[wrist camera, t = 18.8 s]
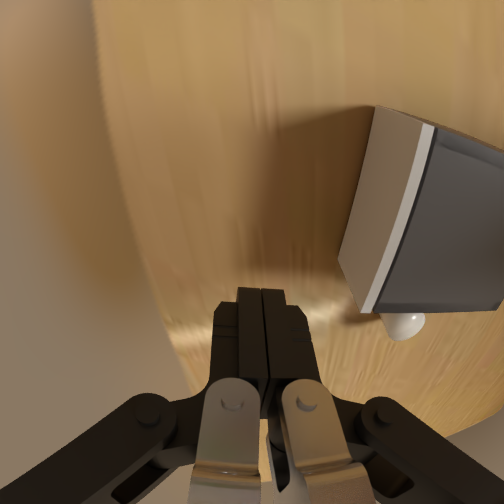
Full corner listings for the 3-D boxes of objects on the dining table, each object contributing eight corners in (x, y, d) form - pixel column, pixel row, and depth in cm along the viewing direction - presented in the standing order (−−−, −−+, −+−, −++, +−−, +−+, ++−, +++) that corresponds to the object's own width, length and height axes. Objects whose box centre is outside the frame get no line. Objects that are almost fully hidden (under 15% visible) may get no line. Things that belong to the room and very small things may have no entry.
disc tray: (500, 149, 21) (549, 177, 15) (456, 268, 28) (488, 310, 22) (375, 105, 19) (423, 123, 14) (337, 259, 26) (360, 313, 21)
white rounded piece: (417, 288, 29) (431, 311, 26) (402, 316, 31) (414, 339, 28) (385, 286, 29) (398, 311, 26) (371, 316, 31) (382, 341, 28)
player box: (505, 151, 21) (556, 181, 15) (462, 266, 28) (496, 310, 22) (386, 107, 20) (438, 128, 14) (347, 257, 27) (373, 313, 21)
